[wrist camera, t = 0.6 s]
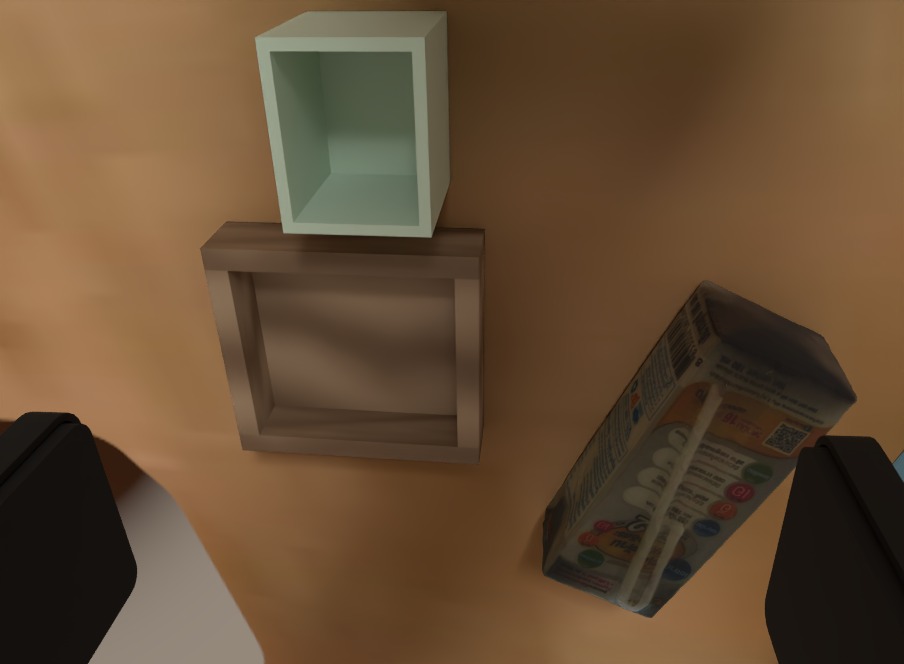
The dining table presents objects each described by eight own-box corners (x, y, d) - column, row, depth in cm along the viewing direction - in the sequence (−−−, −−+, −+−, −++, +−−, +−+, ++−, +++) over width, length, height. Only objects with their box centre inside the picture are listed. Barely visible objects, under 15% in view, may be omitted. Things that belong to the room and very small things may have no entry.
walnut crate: (226, 221, 40) (200, 248, 37) (484, 228, 38) (479, 257, 35) (262, 414, 46) (242, 450, 44) (483, 426, 45) (478, 464, 42)
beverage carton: (536, 506, 48) (534, 587, 43) (698, 267, 38) (723, 331, 33) (643, 549, 49) (656, 634, 43) (829, 326, 39) (876, 398, 34)
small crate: (306, 11, 34) (254, 37, 28) (446, 10, 33) (424, 37, 27) (324, 179, 38) (283, 233, 32) (450, 181, 37) (431, 237, 31)
